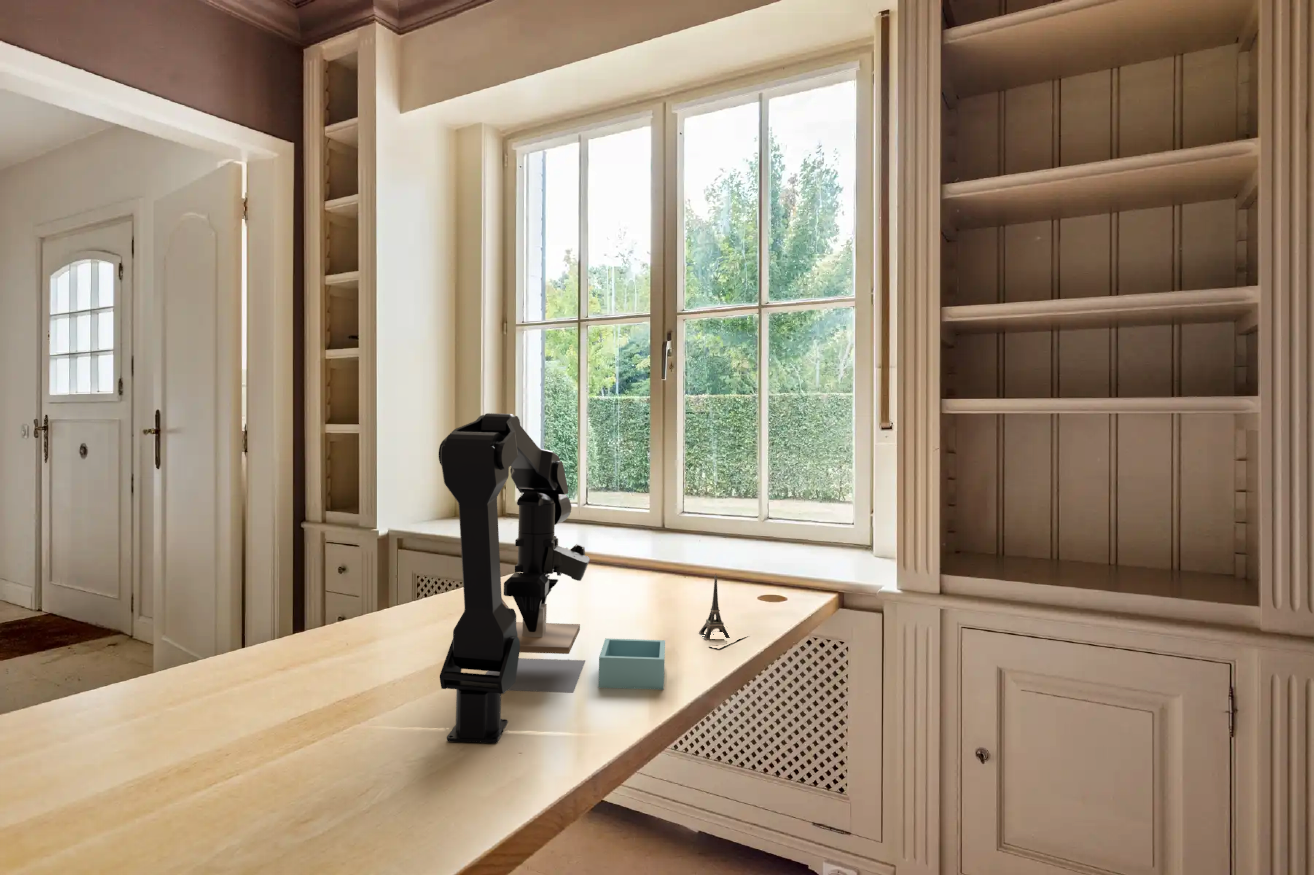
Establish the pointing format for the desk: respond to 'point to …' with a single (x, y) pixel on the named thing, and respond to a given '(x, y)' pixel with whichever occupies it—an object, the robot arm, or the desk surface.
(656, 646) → the dish
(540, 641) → the lid
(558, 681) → the mat
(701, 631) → the eiffel tower figurine
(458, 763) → the desk surface
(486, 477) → the robot arm
